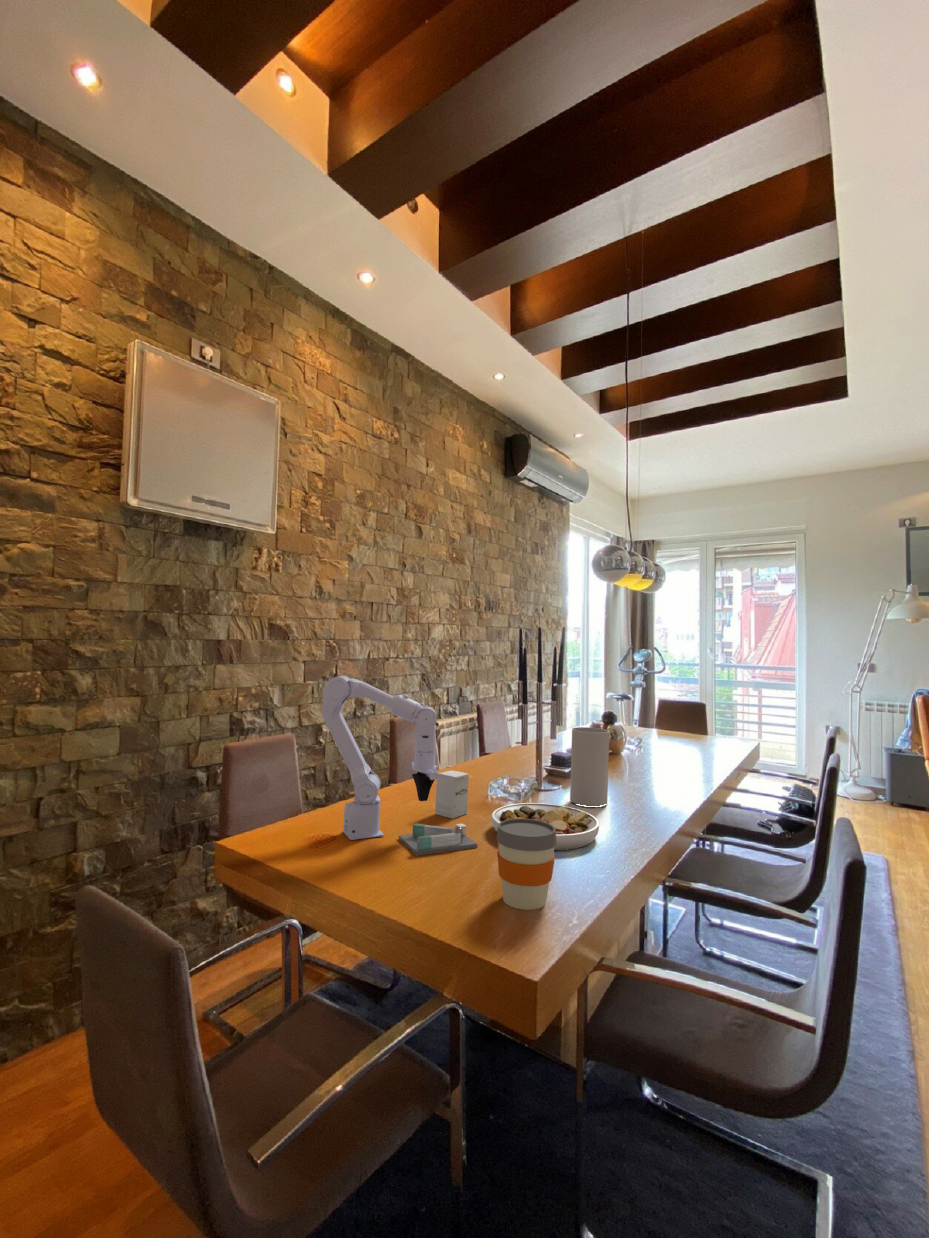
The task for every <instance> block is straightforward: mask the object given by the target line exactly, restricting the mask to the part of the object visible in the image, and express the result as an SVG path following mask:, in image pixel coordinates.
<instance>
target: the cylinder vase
mask: <svg viewBox="0 0 929 1238" xmlns="http://www.w3.org/2000/svg"><path fill="white" fill-rule="evenodd" d="M609 749H610V730H608V729H605V728H598V727H589V726H588V727H584V726H583V727H582V726H581V727H572V728H571V754H570V755H571V756H570V758H571V759H570V783H569V784H570V786H569V787H570V788H569V790H570V792H569V801H570V802H571V803H572V802H573V803H575V804H580V805H586V806H600V805H604V804H607V805H608V798H609V797H608V794H609V793H608V792H609V791H608V790H609V789H608V788H609V756H610V754H609V753H610V750H609ZM573 803H572V804H573ZM575 804H574V805H575Z"/></svg>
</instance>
